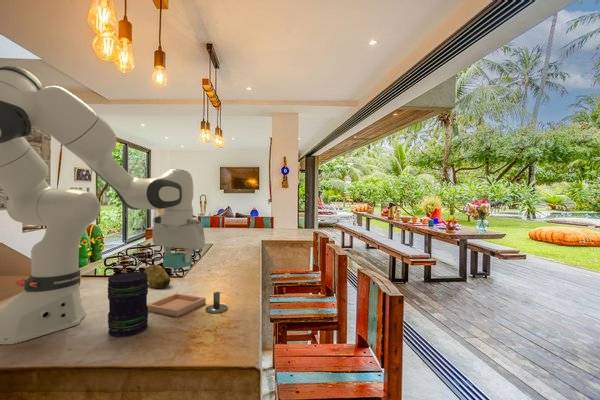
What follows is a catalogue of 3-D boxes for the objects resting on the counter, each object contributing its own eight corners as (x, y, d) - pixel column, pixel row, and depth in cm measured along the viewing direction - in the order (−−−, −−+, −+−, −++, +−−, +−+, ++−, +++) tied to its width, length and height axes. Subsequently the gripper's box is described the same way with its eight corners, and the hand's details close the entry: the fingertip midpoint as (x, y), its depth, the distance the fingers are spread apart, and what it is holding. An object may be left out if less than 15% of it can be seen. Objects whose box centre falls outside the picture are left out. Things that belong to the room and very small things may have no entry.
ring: (191, 265, 105) (191, 253, 105) (177, 268, 100) (177, 256, 100) (178, 263, 108) (178, 251, 108) (163, 266, 103) (163, 254, 103)
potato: (148, 292, 121) (148, 271, 120) (142, 283, 131) (142, 264, 131) (171, 288, 125) (171, 268, 125) (163, 280, 136) (163, 262, 136)
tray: (177, 318, 96) (177, 311, 96) (145, 311, 101) (145, 304, 101) (205, 304, 108) (205, 297, 108) (176, 298, 113) (176, 292, 113)
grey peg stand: (218, 314, 99) (218, 297, 99) (200, 311, 102) (200, 294, 101) (231, 307, 105) (231, 291, 105) (214, 304, 108) (214, 288, 108)
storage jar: (139, 319, 95) (138, 269, 95) (154, 328, 89) (154, 275, 88) (102, 330, 87) (101, 276, 87) (116, 341, 81) (116, 283, 81)
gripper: (209, 219, 102) (209, 262, 102) (164, 217, 111) (164, 256, 111) (195, 220, 97) (194, 266, 97) (149, 218, 106) (148, 259, 106)
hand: (177, 261), depth 104 cm, fingers closed on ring, 6 cm apart
